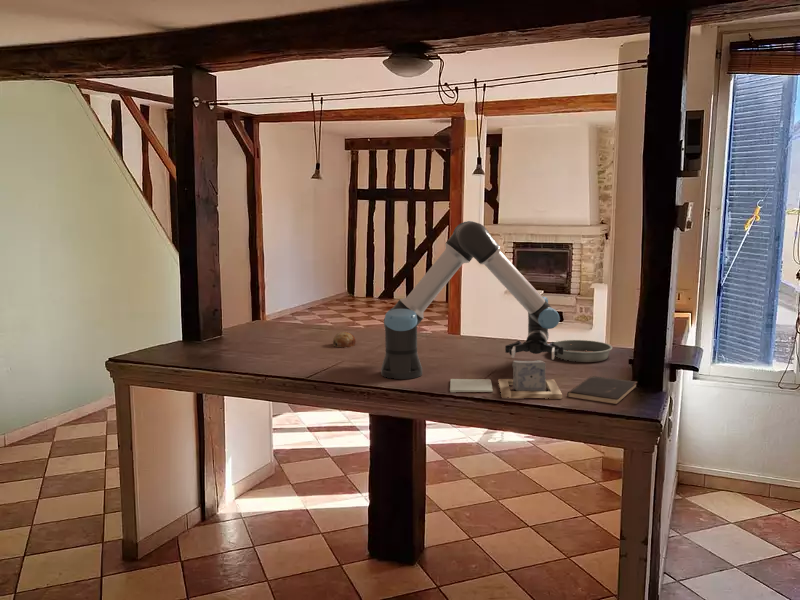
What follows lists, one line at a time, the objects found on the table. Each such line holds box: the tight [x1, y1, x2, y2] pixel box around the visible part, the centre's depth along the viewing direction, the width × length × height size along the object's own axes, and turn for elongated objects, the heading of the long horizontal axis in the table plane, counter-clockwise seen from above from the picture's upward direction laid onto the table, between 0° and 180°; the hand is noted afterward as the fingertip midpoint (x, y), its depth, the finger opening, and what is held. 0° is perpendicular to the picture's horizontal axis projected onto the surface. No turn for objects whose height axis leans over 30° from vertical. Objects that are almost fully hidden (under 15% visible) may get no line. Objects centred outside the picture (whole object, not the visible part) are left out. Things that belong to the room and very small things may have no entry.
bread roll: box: [332, 331, 357, 348], centre depth 294 cm, size 10×10×8 cm
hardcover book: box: [566, 375, 638, 405], centre depth 217 cm, size 16×23×2 cm
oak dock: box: [497, 378, 563, 400], centre depth 219 cm, size 19×18×2 cm
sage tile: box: [449, 378, 494, 393], centre depth 225 cm, size 14×14×1 cm
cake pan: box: [554, 339, 613, 363], centre depth 268 cm, size 25×25×4 cm
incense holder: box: [512, 359, 547, 392], centre depth 218 cm, size 10×8×10 cm
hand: (532, 354), depth 227 cm, fingers open, 13 cm apart
